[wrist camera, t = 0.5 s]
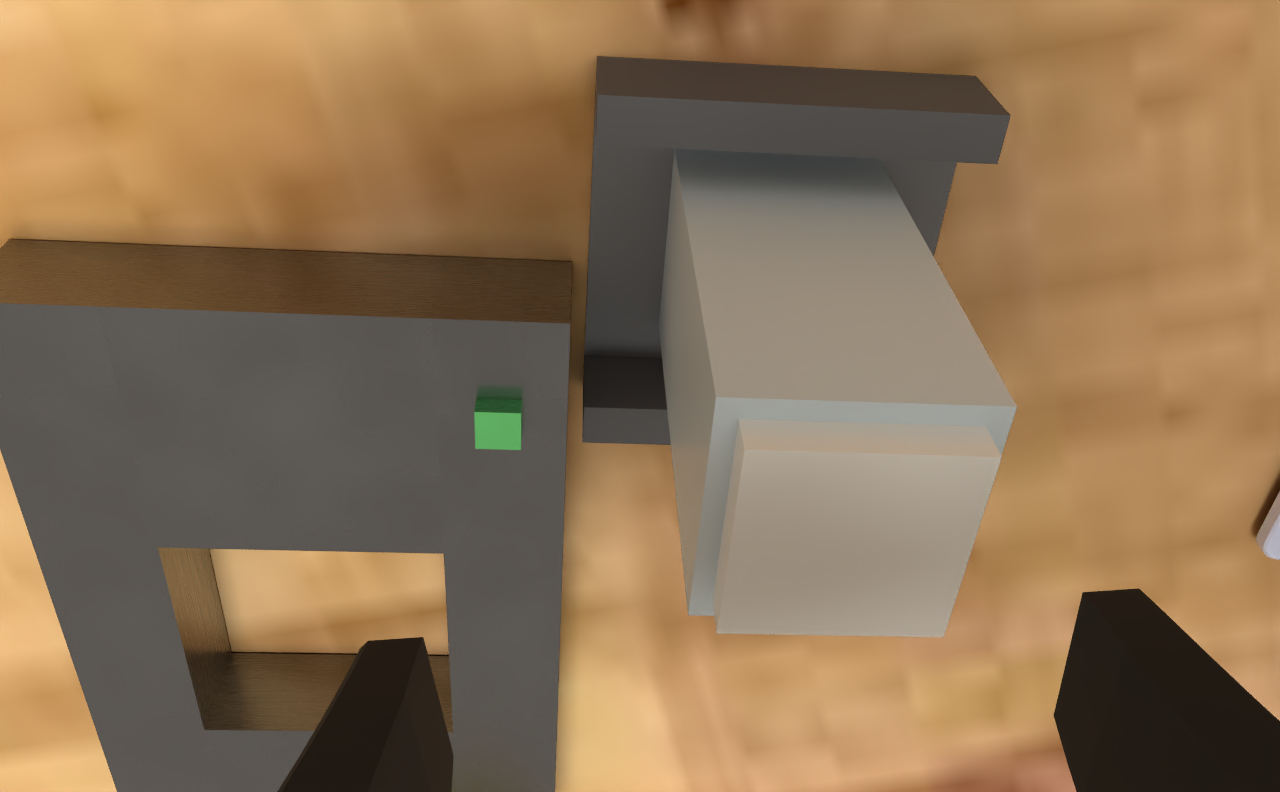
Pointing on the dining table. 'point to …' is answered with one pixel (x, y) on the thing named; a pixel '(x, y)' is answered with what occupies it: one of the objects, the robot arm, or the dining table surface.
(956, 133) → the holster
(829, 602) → the plug
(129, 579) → the port panel
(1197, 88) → the dining table surface
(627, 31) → the dining table surface
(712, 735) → the dining table surface
